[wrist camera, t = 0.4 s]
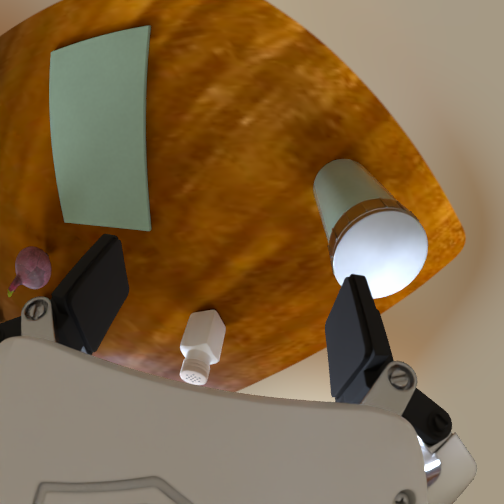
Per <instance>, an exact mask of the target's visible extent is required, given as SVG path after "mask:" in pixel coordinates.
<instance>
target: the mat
mask: <svg viewBox="0 0 504 504" xmlns="http://www.w3.org/2000/svg"><path fill="white" fill-rule="evenodd" d="M150 31H151V26H149V25H148V26H142V27H136V28H131V29H126V30H122V31H117V32H113V33H109V34H105V35H101V36H97V37H94V38H90V39H87V40H84V41H81V42H78V43H74V44H72V45H69V46H66V47H63V48H60V49H58V50H55V51H52V52H51V60H50V83H49V104H50V127H51V140H52V151H53V159H54V167H55V174H56V181H57V187H58V192H59V198H60V203H61V208H62V213H63V217H64V222H66V223H76V224H86V225H96V226H105V227H115V228H124V229H134V230H143V231H151V219H150V208H149V195H148V180H147V159H146V85H147V66H148V52H149V40H150Z"/></svg>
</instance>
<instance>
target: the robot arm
mask: <svg viewBox="0 0 504 504" xmlns="http://www.w3.org/2000/svg"><path fill="white" fill-rule="evenodd" d="M128 293H129V285H128V280H127V275H126V269H125V263H124V257H123V251H122V245H121V241H120V240H118V237H117V236H115V235H109V234H103V235H102V236H101V237H100V238H99V239H98V241H97V242H96V243H95V244H94V245H93V246H92V247H91V248H90V249H89V250H88V251H87V252H86V254H85V255H84V256H83V257H82V258H81V259H80V260H79V261H78V263H77V264H76V265H75V266H74V267H73V268H72V269H71V271H70V272H69V273H68V274H67V275H66V277H65V278H64V279H63V280H62V281H61V283H60V284H59V285H58V286H57V288H56V289H55V290H54V291H53V293H52V294H51V295H52V298H51V299H50V300H49V299H48V298H46V297H42V296H39V297H35V298H32V299H31V300H29V301H28V302H27V303H26V304H25V305H24V307H23V309H22V313H21V316H20V317H17V318H14V319H12V320H9V321H6V322H4V323H1V324H0V504H453V503H454V502H455V500H456V499H457V498H458V497H459V496H460V495H461V494H462V492H463V491H464V490H465V489H466V488H467V486H468V485H469V484H470V483H471V482H472V480H473V479H474V477H475V475H476V471H477V465H476V462H475V460H474V459H473V457H472V456H471V455H470V453H469V451H468V450H467V449H466V447H465V445H464V444H463V443H462V441H461V440H460V438H459V437H458V435H457V434H456V433H454V434H452V433H451V429H452V422H451V418H450V417H449V414H448V413H447V412H446V411H445V410H444V409H442V408H441V407H440V406H438V405H437V404H436V403H435V402H433V401H432V400H431V399H430V398H428V397H427V396H426V395H425V394H423V393H422V392H421V391H420V390H418V389H417V388H416V386H417V376H416V373H415V372H414V370H413V369H412V368H411V367H410V366H409V365H408V364H406V363H404V362H401V361H393V357H392V353H391V349H390V346H389V342H388V339H387V336H386V332H385V329H384V325H383V322H382V319H381V316H380V313H379V311H378V310H377V309H376V307H375V303H374V300H373V297H372V294H371V291H370V288H369V285H368V282H367V280H366V277H365V276H363V275H357V274H351V275H350V276H349V277H346V278H345V279H344V282H343V284H342V286H341V289H340V291H339V294H338V296H337V298H336V301H335V303H334V305H333V307H332V310H331V312H330V314H329V316H328V319H327V321H326V324H325V334H326V343H327V352H328V362H329V373H330V385H331V395H332V397H335V400H336V401H335V402H320V401H306V400H294V399H284V398H274V397H265V396H257V395H250V394H243V393H237V392H230V391H224V390H219V389H213V388H208V387H203V386H198V385H193V384H189V383H184V382H180V381H176V380H171V379H167V378H163V377H159V376H156V375H152V374H148V373H145V372H141V371H138V370H134V369H131V368H128V367H124V366H121V365H118V364H115V363H112V362H109V361H106V360H103V359H100V358H97V357H94V356H92V353H93V352H95V351H96V350H97V349H98V347H99V345H100V343H101V341H102V340H103V338H104V336H105V334H106V332H107V330H108V329H109V327H110V325H111V323H112V321H113V320H114V318H115V316H116V314H117V313H118V311H119V309H120V308H121V306H122V304H123V302H124V301H125V299H126V297H127V296H128Z"/></svg>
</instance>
